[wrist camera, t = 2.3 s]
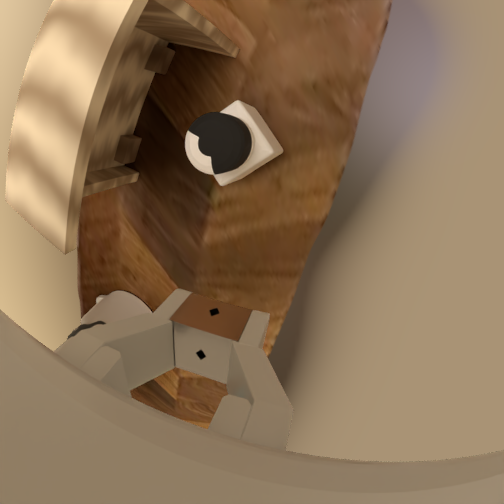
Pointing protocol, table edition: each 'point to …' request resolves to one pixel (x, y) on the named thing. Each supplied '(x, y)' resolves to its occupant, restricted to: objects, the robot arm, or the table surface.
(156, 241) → the table surface
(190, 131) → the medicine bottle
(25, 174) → the cubby shelf
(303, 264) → the table surface
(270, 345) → the table surface
